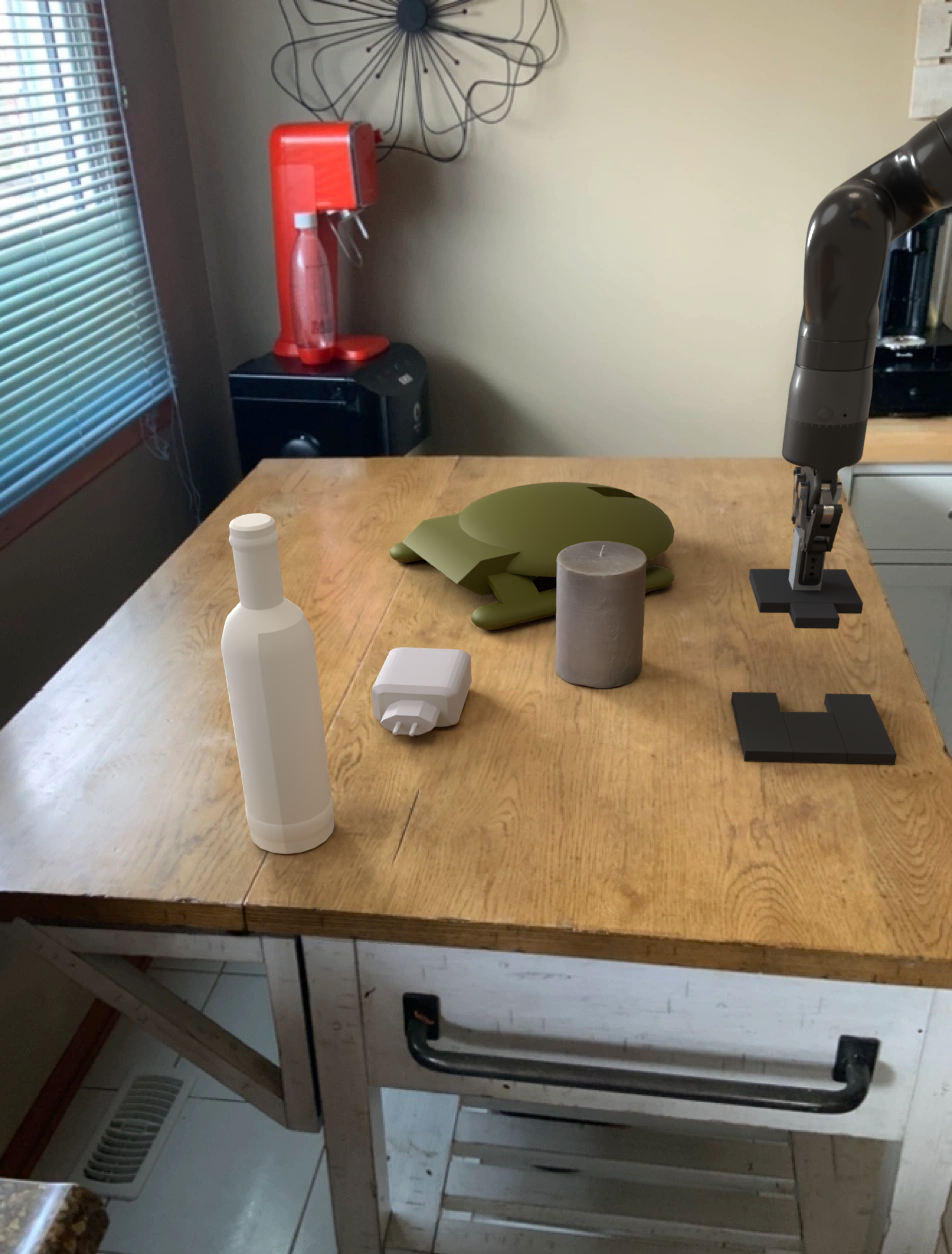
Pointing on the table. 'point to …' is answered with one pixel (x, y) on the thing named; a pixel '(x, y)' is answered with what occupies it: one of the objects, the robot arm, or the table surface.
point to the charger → (421, 689)
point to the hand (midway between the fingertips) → (805, 576)
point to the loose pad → (805, 593)
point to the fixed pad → (812, 730)
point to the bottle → (275, 699)
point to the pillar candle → (600, 613)
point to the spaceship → (533, 542)
